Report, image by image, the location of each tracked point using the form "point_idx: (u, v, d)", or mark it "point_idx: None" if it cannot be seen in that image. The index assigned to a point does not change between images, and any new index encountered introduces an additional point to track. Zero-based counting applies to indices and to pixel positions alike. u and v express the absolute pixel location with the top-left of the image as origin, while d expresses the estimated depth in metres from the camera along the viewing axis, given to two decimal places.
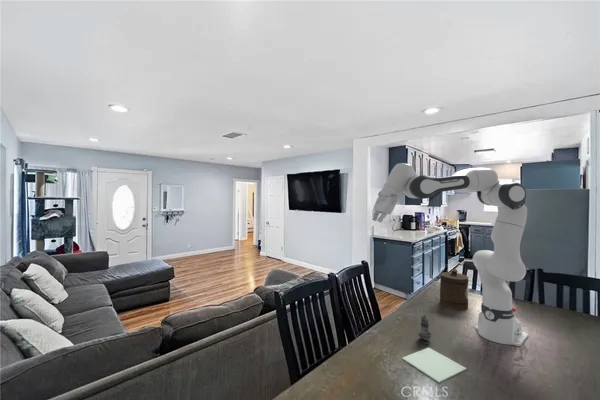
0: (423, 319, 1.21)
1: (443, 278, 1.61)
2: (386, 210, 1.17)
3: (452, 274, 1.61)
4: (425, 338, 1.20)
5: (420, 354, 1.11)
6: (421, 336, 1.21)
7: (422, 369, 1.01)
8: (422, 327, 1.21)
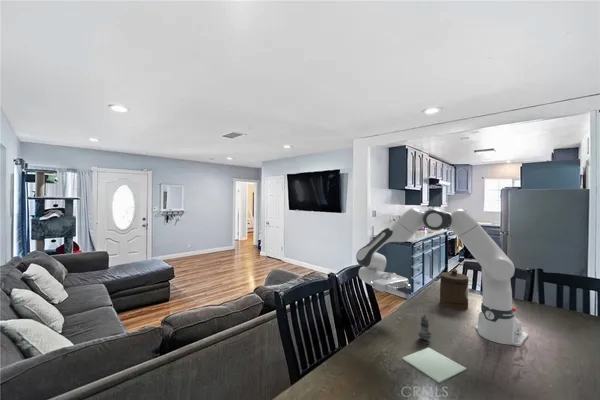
0: (423, 319, 1.21)
1: (443, 278, 1.61)
2: (379, 289, 1.33)
3: (452, 274, 1.61)
4: (425, 338, 1.20)
5: (420, 354, 1.11)
6: (421, 336, 1.21)
7: (422, 369, 1.01)
8: (422, 327, 1.21)
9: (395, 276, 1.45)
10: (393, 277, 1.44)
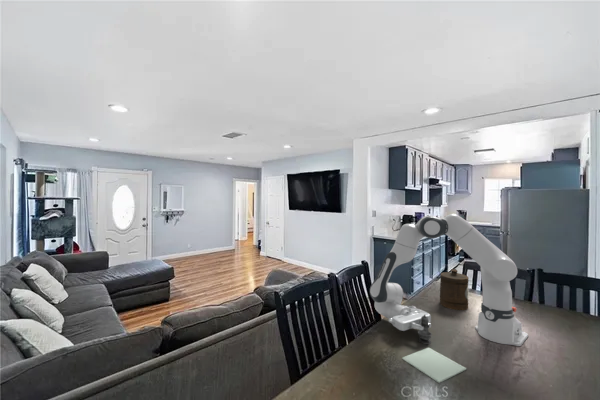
0: (423, 319, 1.21)
1: (443, 278, 1.61)
2: (400, 328, 1.22)
3: (452, 274, 1.61)
4: (425, 338, 1.20)
5: (420, 354, 1.11)
6: (421, 336, 1.21)
7: (422, 369, 1.01)
8: None
9: (415, 310, 1.34)
10: (413, 312, 1.33)
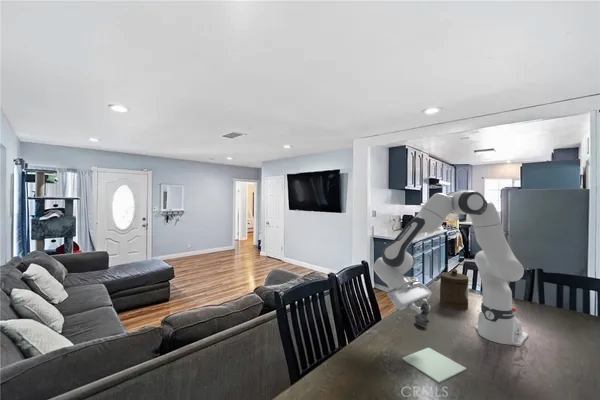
0: (424, 306, 1.12)
1: (443, 278, 1.61)
2: (398, 307, 1.12)
3: (452, 274, 1.61)
4: (422, 325, 1.12)
5: (420, 354, 1.11)
6: (418, 322, 1.13)
7: (422, 369, 1.01)
8: (421, 314, 1.13)
9: (417, 284, 1.23)
10: (415, 286, 1.22)
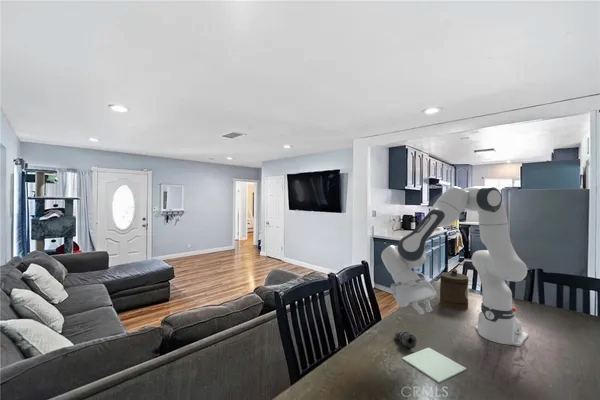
0: (396, 337, 1.24)
1: (443, 278, 1.61)
2: (399, 304, 1.06)
3: (452, 274, 1.61)
4: (403, 341, 1.16)
5: (420, 354, 1.11)
6: (404, 344, 1.17)
7: (422, 369, 1.01)
8: None
9: (424, 282, 1.15)
10: (421, 284, 1.14)
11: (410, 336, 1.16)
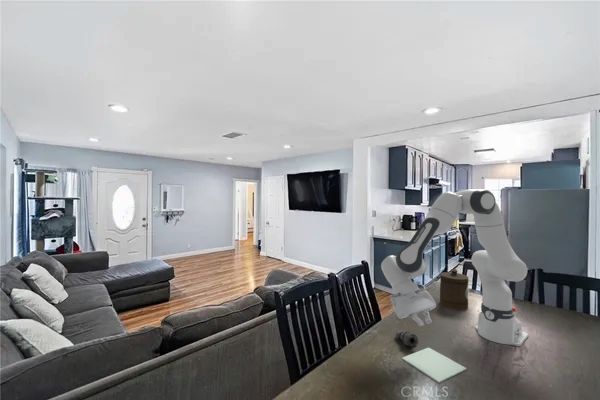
0: (396, 336, 1.24)
1: (443, 278, 1.61)
2: (399, 316, 1.06)
3: (452, 274, 1.61)
4: (404, 340, 1.16)
5: (420, 354, 1.11)
6: (405, 343, 1.17)
7: (422, 369, 1.01)
8: (402, 339, 1.20)
9: (423, 293, 1.15)
10: (420, 295, 1.14)
11: (413, 336, 1.16)
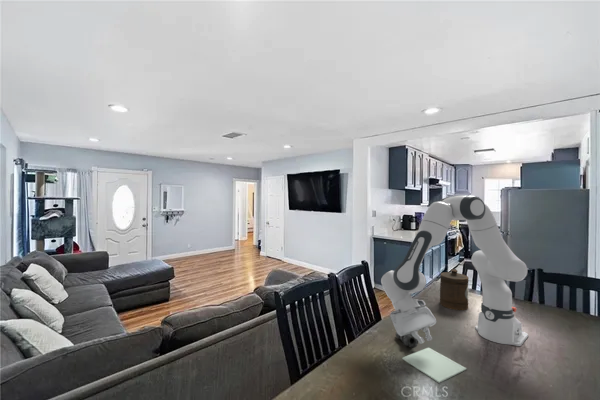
0: (396, 336, 1.24)
1: (443, 278, 1.61)
2: (399, 333, 1.06)
3: (452, 274, 1.61)
4: (404, 340, 1.16)
5: (420, 354, 1.11)
6: (405, 343, 1.17)
7: (422, 369, 1.01)
8: (402, 339, 1.20)
9: (423, 309, 1.15)
10: (421, 311, 1.14)
11: (412, 336, 1.16)
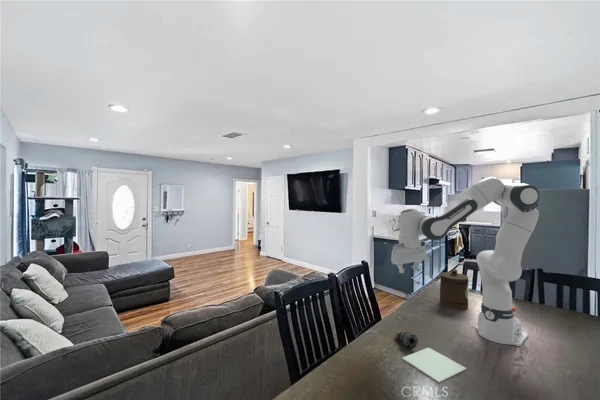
0: (396, 336, 1.24)
1: (443, 278, 1.61)
2: (392, 261, 1.26)
3: (452, 274, 1.61)
4: (404, 340, 1.16)
5: (420, 354, 1.11)
6: (405, 343, 1.17)
7: (422, 369, 1.01)
8: (402, 339, 1.20)
9: (421, 249, 1.31)
10: (418, 249, 1.30)
11: (412, 336, 1.16)
